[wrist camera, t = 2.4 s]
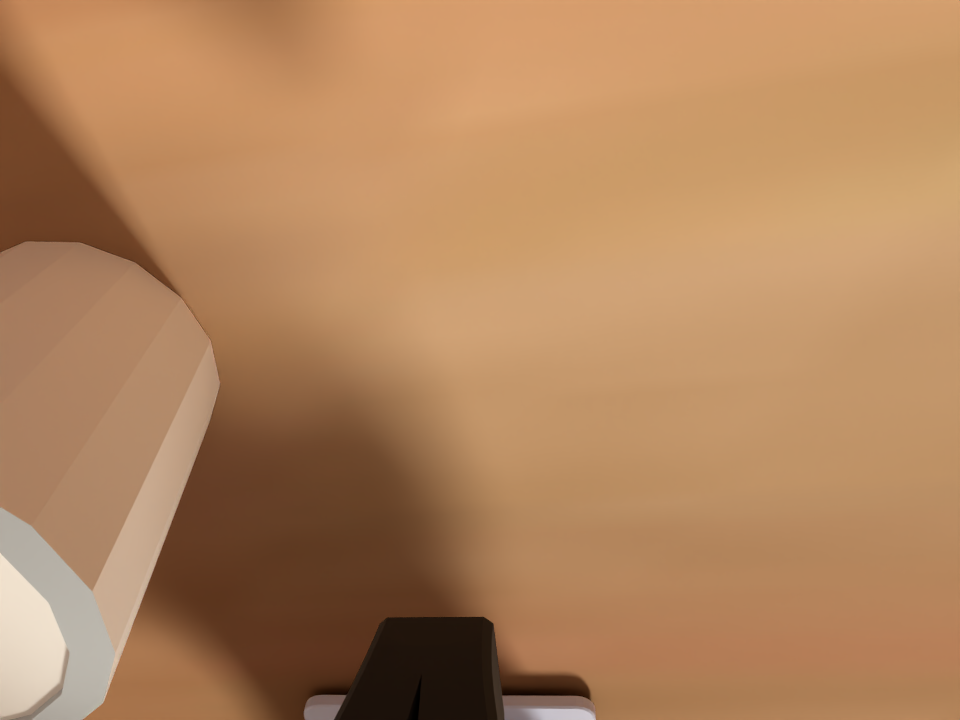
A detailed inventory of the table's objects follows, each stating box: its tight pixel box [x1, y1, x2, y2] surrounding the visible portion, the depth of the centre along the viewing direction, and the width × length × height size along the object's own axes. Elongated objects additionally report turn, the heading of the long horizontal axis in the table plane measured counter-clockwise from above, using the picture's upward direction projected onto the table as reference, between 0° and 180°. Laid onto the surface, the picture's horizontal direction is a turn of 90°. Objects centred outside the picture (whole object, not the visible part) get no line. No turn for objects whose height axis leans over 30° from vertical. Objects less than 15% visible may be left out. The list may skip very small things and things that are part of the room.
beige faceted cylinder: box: [0, 241, 220, 720], centre depth 16 cm, size 7×7×7 cm
